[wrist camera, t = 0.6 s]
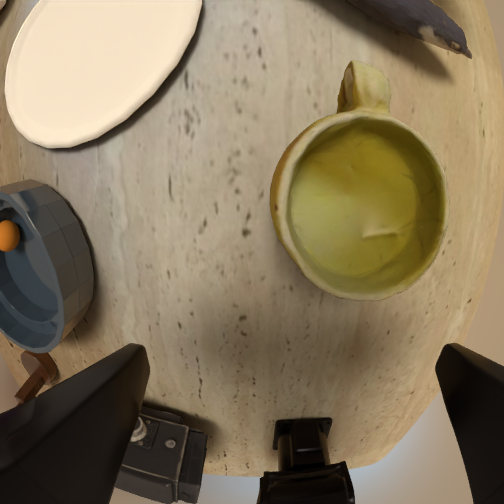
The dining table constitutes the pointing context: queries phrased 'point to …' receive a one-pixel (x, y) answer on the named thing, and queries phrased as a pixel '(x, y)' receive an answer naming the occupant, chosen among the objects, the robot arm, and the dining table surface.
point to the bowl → (42, 268)
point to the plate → (92, 64)
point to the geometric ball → (2, 3)
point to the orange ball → (8, 235)
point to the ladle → (35, 374)
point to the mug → (361, 196)
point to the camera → (163, 459)
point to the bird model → (418, 21)
